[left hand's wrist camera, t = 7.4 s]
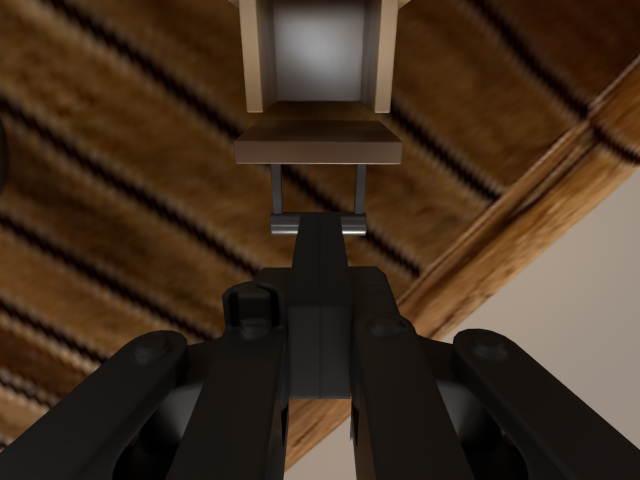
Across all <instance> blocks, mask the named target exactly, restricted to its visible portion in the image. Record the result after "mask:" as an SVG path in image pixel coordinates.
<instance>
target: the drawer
mask: <svg viewBox="0 0 640 480" xmlns="http://www.w3.org/2000/svg"><path fill="white" fill-rule="evenodd" d="M398 3H399V0H239V12H240V25H241V38H242V51H243V64H244V77H245V91H246V104H247V112H263V111H264V110H266V109H267V108H268V107H270V106H271V105H273V104H274V103H275V102H277V101H327V102H362V103H363V104H365V105H366V106H367V107H368V108H370V109H371V110H372V111H374V112H375V113H389V112H390V103H391V90H392V78H393V65H394V53H395V40H396V28H397V15H398ZM402 150H403V142H402V141H401V140H400V139H399V138H398V137H397V136H396V135H394V134H393V133H392V132H391V131H390V130H389V129H388V128H386V127H385V126H384V125H383V124H382V123H381V122H380V121H279V120H259V121H258V122H256V123H255V124H254V125H253V126H252V127H250V128H249V129H248V130H247V131H246V132H244V133H243V134H242V135H241V136H240V137H238V138H237V139H236V140H235V141H234V152H235V162H236V163H237V164H271V179H272V198H273V212H271V215H270V231H271V234H272V235H297V232H298V226H299V220H300V214H301V213H339V214H340V220H341V226H342V232H343V235H366V231H367V216H366V213H365V212H364V199H365V182H366V164H401V160H402ZM281 164H356V180H355V201H354V212H283V199H282V175H281Z"/></svg>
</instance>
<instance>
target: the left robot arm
mask: <svg viewBox="0 0 640 480" xmlns="http://www.w3.org/2000/svg"><path fill="white" fill-rule="evenodd" d="M7 172H8V152H7V145H6V140H5V136H4V132H3V130H2V127H1V124H0V195H1V193H2V190H3V188H4V185H5V182H6V177H7ZM222 300H223V308H224V317H225V326H226V329H225V331H224V334H223V336H221V337H219V338H217V339H214V340H211V341H207V342H203V343H198V344H193V345H187V339H186V338H185V337H184V336H183V335H182V334H181V333H178V332H175V331H169V330H160V331H155V332H154V331H153V332H149V333H146V334H144V335H141V336H139V337H136V338H135V339H133V340H132V341H130V342H129V343H127V344H126V345H124V346H123V347H122V348H121V349H120V350H119V351H117V352H116V353H115V354H114V355H113V356H112V357H111V358H109V359H108V360H107V361H106V362H105V363H104V364H102V365H101V366H100V367H99V368H98V369H97V370H95V371H94V372H93V373H92V374H91V375H90V376H89V377H87V378H86V379H85V380H84V381H83V382H82V383H80V384H79V385H78V386H77V387H76V388H75V389H74V390H72V391H71V392H70V393H69V394H68V395H67V396H65V397H64V398H63V399H62V400H61V401H60V402H58V403H57V404H56V405H55V406H54V407H53V408H52V409H50V410H49V411H48V412H47V413H46V414H45V415H43V416H42V417H41V418H40V419H39V420H38V421H37V422H35V423H34V424H33V425H32V426H31V427H30V428H28V429H27V430H26V431H25V432H24V433H23V434H22V435H20V436H19V437H18V438H17V439H16V440H15V441H13V442H12V443H11V444H10V445H9V446H8V447H6V448H5V449H4V450H3V451H2V452H1V453H0V480H283V477H284V467H285V456H286V445H287V434H288V423H289V403H288V400H289V395H290V399H350V395H351V398H352V403H351V427H350V441H353V445H354V455H355V466H356V477H357V480H640V450H639V449H638V448H637V447H636V446H635V445H633V444H632V443H631V442H630V441H629V440H628V439H626V438H625V437H624V436H623V435H622V434H621V433H619V432H618V431H617V430H616V429H615V428H614V427H612V426H611V425H610V424H609V423H608V422H607V421H606V420H604V419H603V418H602V417H601V416H600V415H599V414H597V413H596V412H595V411H594V410H593V409H592V408H590V407H589V406H588V405H587V404H586V403H585V402H583V401H582V400H581V399H580V398H579V397H578V396H576V395H575V394H574V393H573V392H572V391H571V390H569V389H568V388H567V387H566V386H565V385H564V384H562V383H561V382H560V381H559V380H558V379H557V378H555V377H554V376H553V375H552V374H551V373H549V372H548V371H547V370H546V369H545V368H544V367H543V366H541V365H540V364H539V363H538V362H537V361H536V360H534V359H533V358H532V357H531V356H530V355H529V354H527V353H526V352H525V351H524V350H523V349H522V348H520V347H519V346H518V345H517V344H516V343H514V342H513V341H511V340H510V339H508V338H507V337H505V336H503V335H501V334H498V333H496V332H493V331H490V330H485V329H466V330H463V331H460V332H458V333H457V334H456V336H455V337H454V339H453V344H450V343H445V342H440V341H435V340H431V339H428V338H425V337H422V336H420V335H418V334H417V333H416V331H415V328H414V326H413V325H412V324H411V322H410V321H409V320H407V319H406V318H404V317H403V316H401V315H400V313H399V310H398V307H397V304H396V302H395V299H394V296H393V293H392V292H391V288H390V285H389V282H388V280H387V277H386V274H385V273H384V272H382V271H381V270H380V269H379V268H377V267H376V266H348V263H347V256H346V250H345V244H344V238H343V232H342V226H341V220H340V214H339V213H301V214H300V220H299V226H298V232H297V238H296V244H295V250H294V256H293V263H292V268H263V269H262V270H260V271H259V272H258V273H257V274H256V275H255V276H254V278H253V281H250V282H244V283H240V284H237V285H235V286H233V287H231V288H229V289H227V290H226V291H225V293H224V294H223V295H222Z"/></svg>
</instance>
